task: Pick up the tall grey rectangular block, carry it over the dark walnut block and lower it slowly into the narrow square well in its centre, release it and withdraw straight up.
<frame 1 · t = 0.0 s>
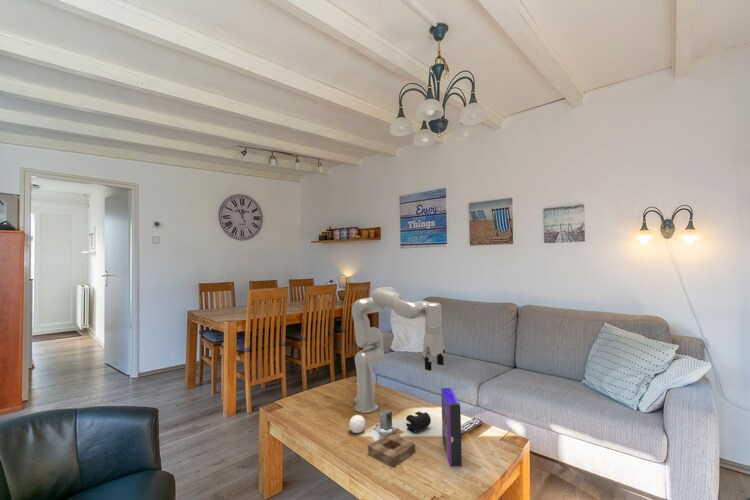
hand: (434, 367, 165), 31 cm above the table, fingers open, 9 cm apart
cereal box: (451, 454, 150), on the table
end cap: (418, 429, 171), on the table
grey rectangular block: (386, 433, 168), on the table
well: (391, 453, 151), on the table
geometric ball: (357, 432, 170), on the table
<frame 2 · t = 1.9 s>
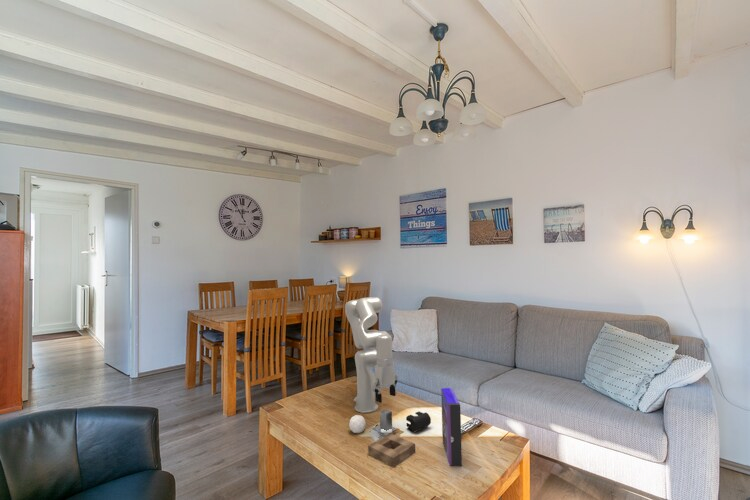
hand: (385, 398, 168), 16 cm above the table, fingers open, 9 cm apart
nothing on the table moved.
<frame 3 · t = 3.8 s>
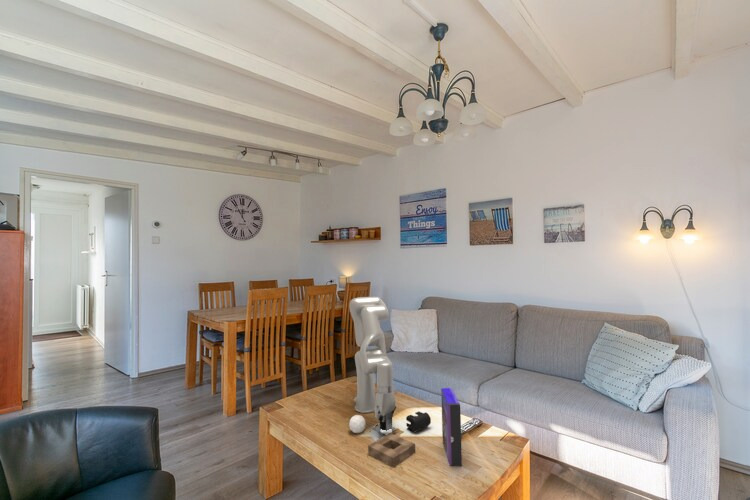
hand: (386, 427, 168), 3 cm above the table, fingers closed on grey rectangular block, 4 cm apart
grey rectangular block: (386, 433, 168), on the table, touching gripper
everything else where it was.
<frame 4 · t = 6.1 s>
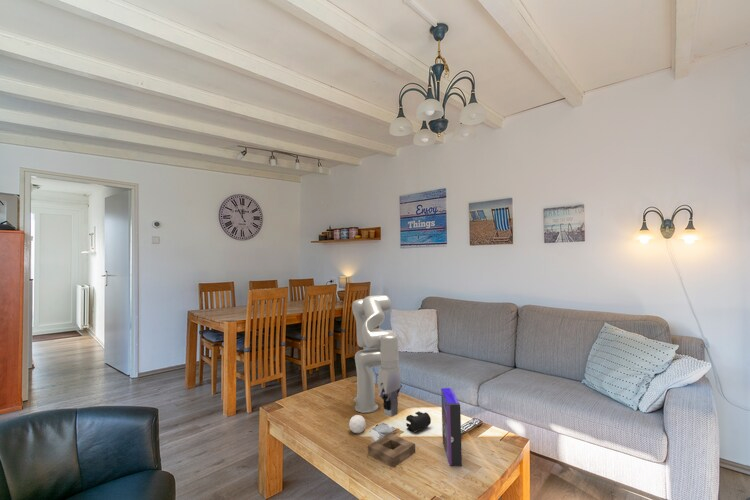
hand: (390, 407, 151), 19 cm above the table, fingers closed on grey rectangular block, 4 cm apart
grey rectangular block: (391, 413, 151), point 16 cm above the table, touching gripper
everything else where it was.
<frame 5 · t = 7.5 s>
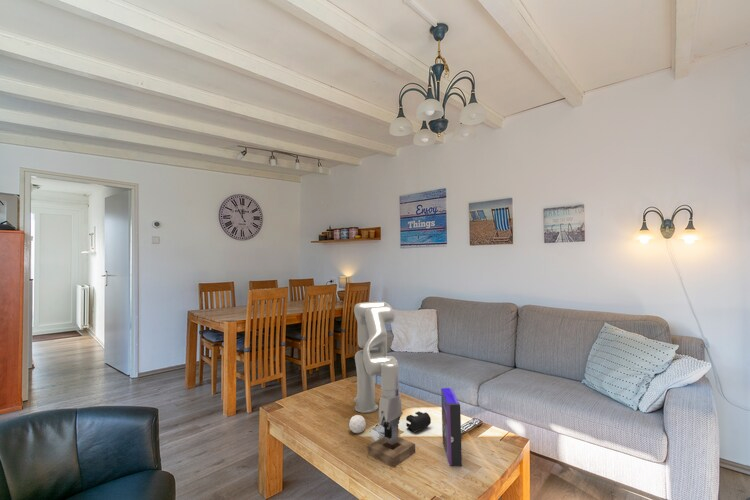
hand: (391, 434, 151), 8 cm above the table, fingers closed on grey rectangular block, 4 cm apart
grey rectangular block: (391, 441, 151), point 5 cm above the table, touching gripper
everything else where it was.
when the fingers open (4 cm above the table, at t = 8.4 s): grey rectangular block drops 2 cm, resting in well.
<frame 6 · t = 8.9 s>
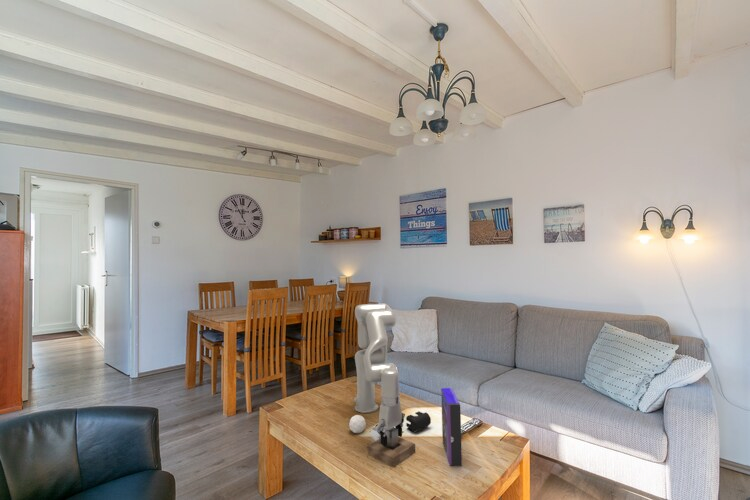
hand: (391, 440, 151), 5 cm above the table, fingers open, 9 cm apart
grey rectangular block: (391, 453, 151), resting in well
everything else where it was.
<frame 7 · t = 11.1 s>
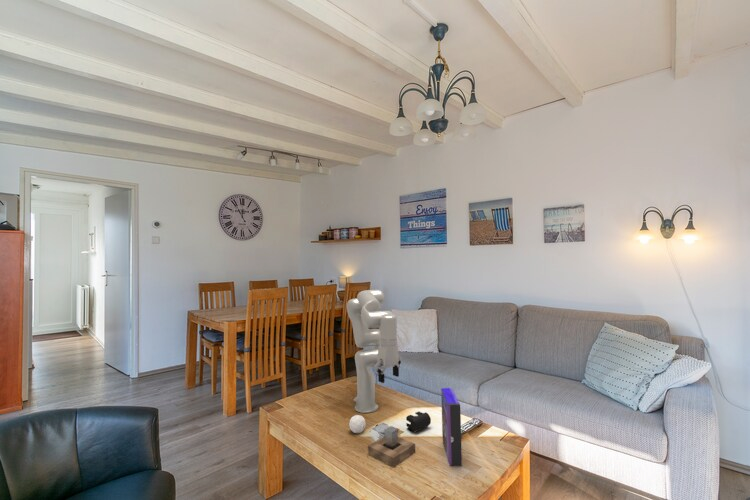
hand: (388, 378, 164), 27 cm above the table, fingers open, 9 cm apart
nothing on the table moved.
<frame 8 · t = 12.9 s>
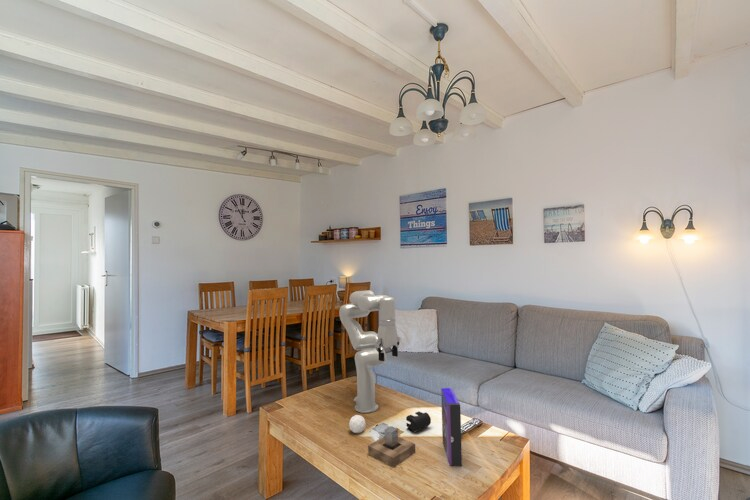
hand: (388, 358, 173), 33 cm above the table, fingers open, 9 cm apart
nothing on the table moved.
at the end: grey rectangular block 0.1 cm off-centre on the well, point 0.0 cm above the well's base; grey rectangular block tilted 0°; the gripper is holding nothing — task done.
